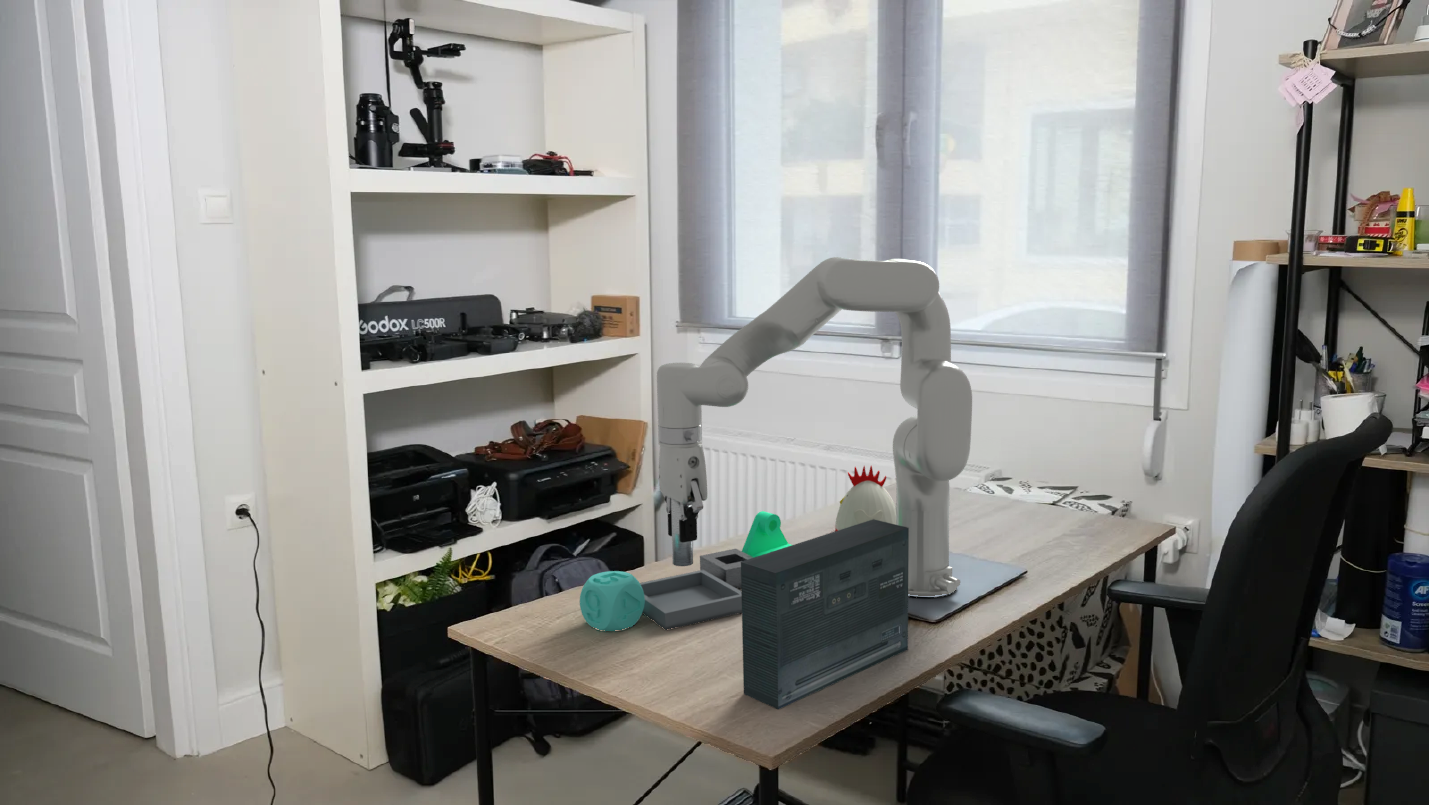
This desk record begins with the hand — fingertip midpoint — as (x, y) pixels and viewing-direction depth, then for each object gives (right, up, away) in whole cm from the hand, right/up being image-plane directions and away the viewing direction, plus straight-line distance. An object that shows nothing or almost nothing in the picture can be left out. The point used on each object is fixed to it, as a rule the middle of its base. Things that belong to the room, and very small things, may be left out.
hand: (682, 536), depth 187 cm
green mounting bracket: (+18, -9, +24) cm, 31 cm away
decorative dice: (-12, -14, -4) cm, 19 cm away
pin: (0, -5, +1) cm, 5 cm away
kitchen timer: (+38, -5, +42) cm, 57 cm away
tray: (+1, -13, +2) cm, 13 cm away
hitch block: (+9, -10, +16) cm, 21 cm away
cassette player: (+23, -17, -26) cm, 39 cm away
